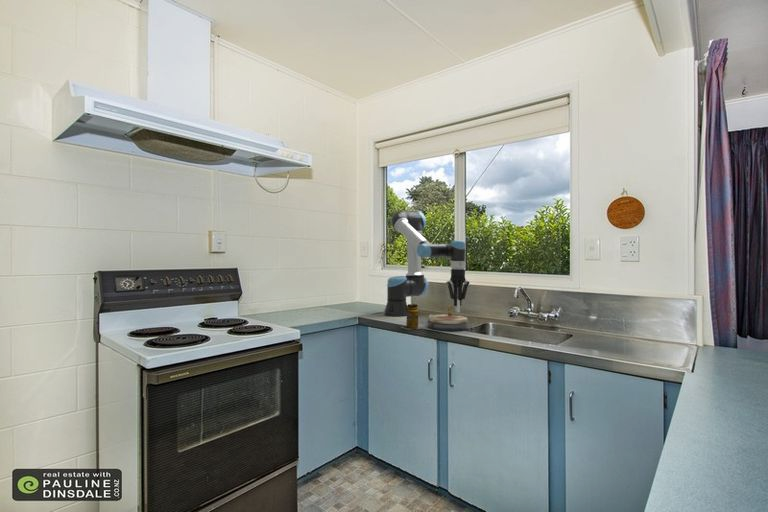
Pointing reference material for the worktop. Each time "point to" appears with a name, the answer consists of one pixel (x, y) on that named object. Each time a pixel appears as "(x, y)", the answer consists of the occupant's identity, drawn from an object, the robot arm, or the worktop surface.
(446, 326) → the turntable base
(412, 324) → the condiment
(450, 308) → the turntable
